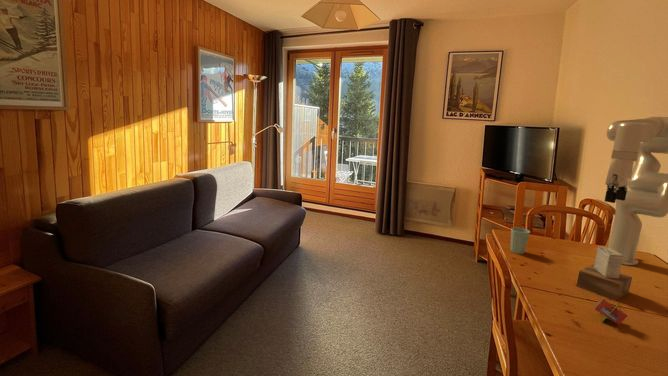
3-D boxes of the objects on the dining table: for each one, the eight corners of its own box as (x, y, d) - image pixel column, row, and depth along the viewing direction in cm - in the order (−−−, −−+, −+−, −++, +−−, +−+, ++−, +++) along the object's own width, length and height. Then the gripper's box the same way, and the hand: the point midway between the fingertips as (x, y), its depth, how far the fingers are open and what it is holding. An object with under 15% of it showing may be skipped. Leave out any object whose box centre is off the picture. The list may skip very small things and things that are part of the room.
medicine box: (619, 279, 122) (624, 255, 120) (604, 277, 123) (609, 254, 121) (606, 269, 129) (611, 247, 128) (592, 268, 130) (597, 246, 128)
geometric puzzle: (634, 319, 104) (619, 293, 106) (630, 327, 99) (613, 299, 101) (608, 323, 109) (593, 298, 111) (602, 331, 104) (587, 305, 106)
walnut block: (590, 278, 135) (593, 264, 134) (628, 292, 125) (632, 276, 124) (576, 285, 129) (579, 270, 127) (615, 300, 119) (619, 284, 118)
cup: (525, 250, 163) (528, 228, 161) (527, 256, 156) (531, 233, 154) (507, 247, 165) (510, 226, 163) (509, 253, 158) (512, 231, 156)
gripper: (620, 154, 138) (611, 196, 141) (603, 155, 128) (593, 200, 132) (645, 156, 132) (635, 201, 135) (628, 158, 122) (617, 205, 126)
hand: (614, 200), depth 134 cm, fingers open, 9 cm apart
